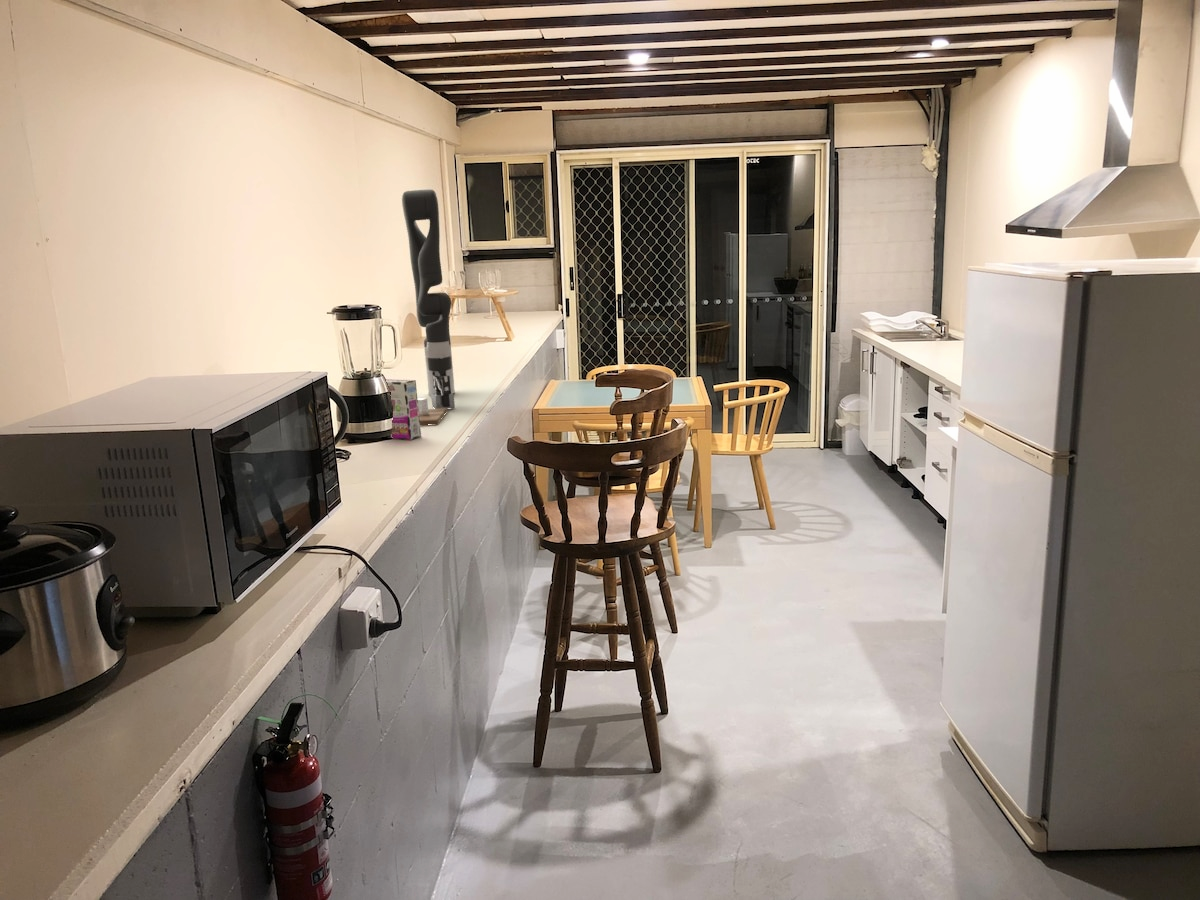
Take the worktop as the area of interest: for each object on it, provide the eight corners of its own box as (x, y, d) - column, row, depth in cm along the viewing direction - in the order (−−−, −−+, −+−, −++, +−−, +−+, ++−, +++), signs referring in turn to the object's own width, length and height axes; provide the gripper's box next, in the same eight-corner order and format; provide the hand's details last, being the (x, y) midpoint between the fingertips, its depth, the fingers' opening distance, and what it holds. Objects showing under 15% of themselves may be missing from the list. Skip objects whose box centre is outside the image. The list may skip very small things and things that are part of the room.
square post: (416, 416, 278) (415, 399, 277) (422, 414, 281) (420, 398, 279) (422, 416, 277) (421, 400, 276) (428, 415, 279) (427, 398, 278)
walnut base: (409, 414, 288) (409, 410, 287) (446, 412, 288) (446, 408, 287) (397, 426, 270) (397, 421, 270) (437, 424, 270) (437, 420, 270)
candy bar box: (422, 436, 256) (416, 379, 252) (410, 440, 251) (405, 382, 248) (391, 434, 261) (385, 378, 257) (380, 438, 257) (373, 381, 253)
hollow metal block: (432, 408, 297) (431, 393, 296) (450, 405, 299) (449, 391, 298) (436, 411, 292) (435, 395, 290) (454, 408, 294) (453, 393, 293)
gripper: (422, 354, 296) (427, 402, 300) (432, 359, 283) (437, 409, 287) (444, 351, 299) (449, 400, 303) (455, 356, 286) (460, 407, 290)
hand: (443, 404), depth 295 cm, fingers open, 8 cm apart
